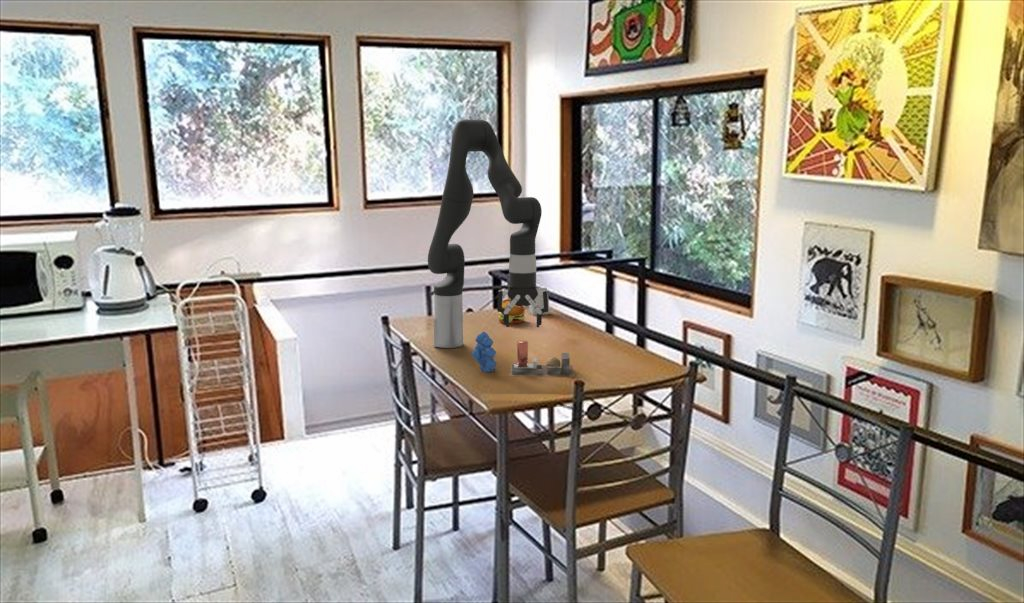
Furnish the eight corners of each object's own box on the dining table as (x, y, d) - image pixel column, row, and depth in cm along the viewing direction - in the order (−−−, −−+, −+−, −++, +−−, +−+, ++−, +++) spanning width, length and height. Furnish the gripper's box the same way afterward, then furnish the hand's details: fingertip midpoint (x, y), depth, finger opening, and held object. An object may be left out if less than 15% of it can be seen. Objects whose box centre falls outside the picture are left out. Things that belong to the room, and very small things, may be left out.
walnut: (546, 372, 215) (546, 359, 214) (546, 368, 219) (546, 355, 218) (560, 372, 215) (560, 359, 214) (560, 368, 219) (560, 355, 218)
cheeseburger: (522, 317, 289) (524, 293, 284) (527, 330, 279) (528, 306, 275) (496, 317, 287) (497, 294, 283) (499, 331, 278) (500, 306, 274)
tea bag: (548, 313, 295) (548, 288, 293) (533, 315, 292) (533, 290, 290) (544, 312, 298) (544, 287, 296) (528, 313, 296) (528, 288, 294)
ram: (513, 371, 215) (513, 343, 213) (513, 367, 219) (513, 339, 217) (536, 371, 215) (536, 343, 213) (536, 367, 219) (536, 340, 217)
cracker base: (509, 381, 212) (509, 360, 211) (510, 369, 223) (510, 350, 221) (574, 381, 212) (574, 361, 210) (572, 370, 222) (572, 350, 221)
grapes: (464, 369, 223) (464, 329, 221) (486, 366, 226) (485, 327, 223) (479, 380, 213) (478, 339, 210) (501, 377, 215) (501, 336, 213)
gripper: (496, 272, 207) (497, 329, 211) (548, 272, 207) (548, 329, 210) (497, 267, 215) (498, 323, 218) (548, 267, 214) (547, 323, 218)
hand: (522, 326), depth 214 cm, fingers open, 8 cm apart
